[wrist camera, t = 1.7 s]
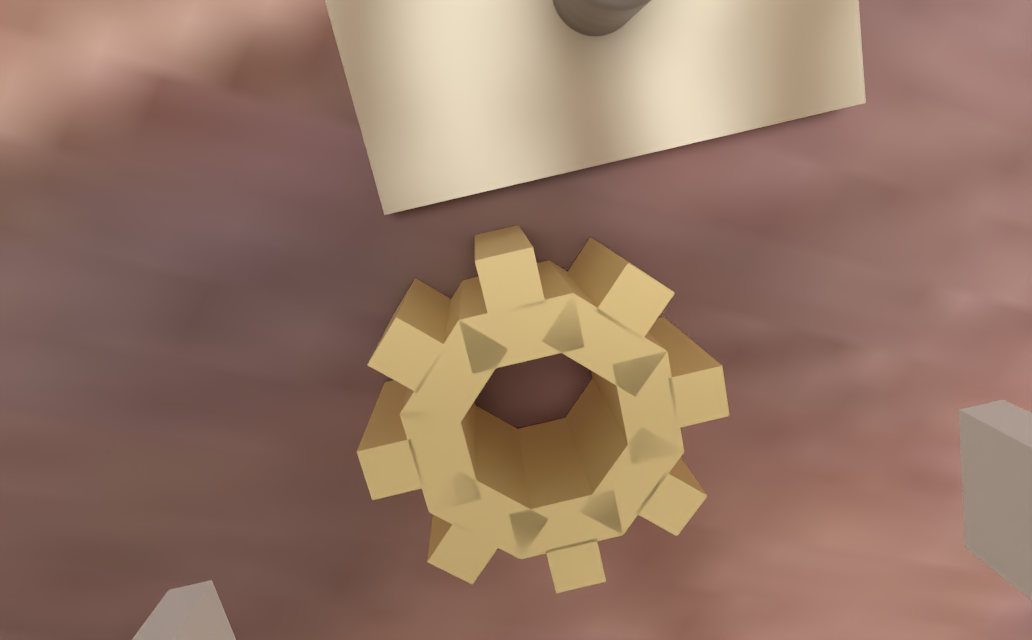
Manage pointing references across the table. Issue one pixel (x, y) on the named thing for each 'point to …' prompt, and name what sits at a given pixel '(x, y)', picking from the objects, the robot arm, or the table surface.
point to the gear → (546, 446)
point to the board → (577, 82)
